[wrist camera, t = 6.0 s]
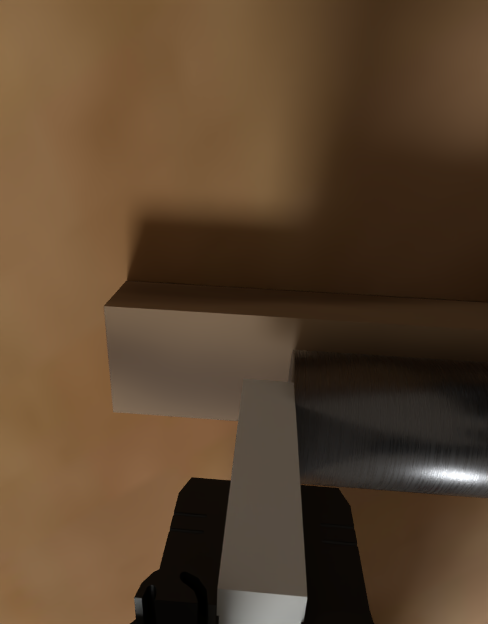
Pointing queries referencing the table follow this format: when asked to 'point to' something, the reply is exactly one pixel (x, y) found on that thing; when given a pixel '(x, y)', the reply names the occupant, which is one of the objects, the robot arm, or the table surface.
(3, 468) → the table surface
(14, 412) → the table surface
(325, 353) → the tube
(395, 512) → the table surface
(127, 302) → the rail
